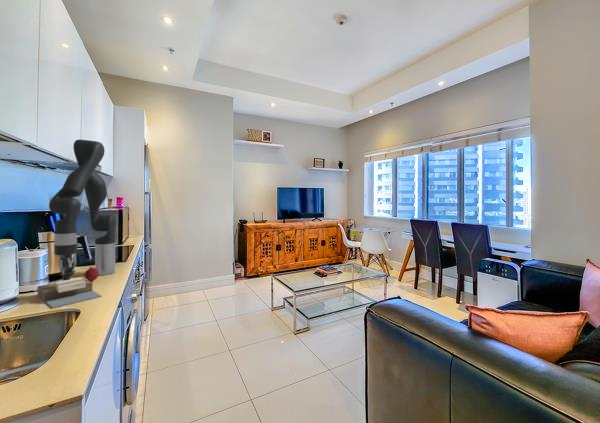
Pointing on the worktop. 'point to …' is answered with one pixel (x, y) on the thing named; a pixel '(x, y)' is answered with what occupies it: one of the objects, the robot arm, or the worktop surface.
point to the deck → (51, 293)
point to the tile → (70, 284)
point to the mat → (72, 299)
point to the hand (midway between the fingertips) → (66, 282)
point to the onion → (91, 274)
